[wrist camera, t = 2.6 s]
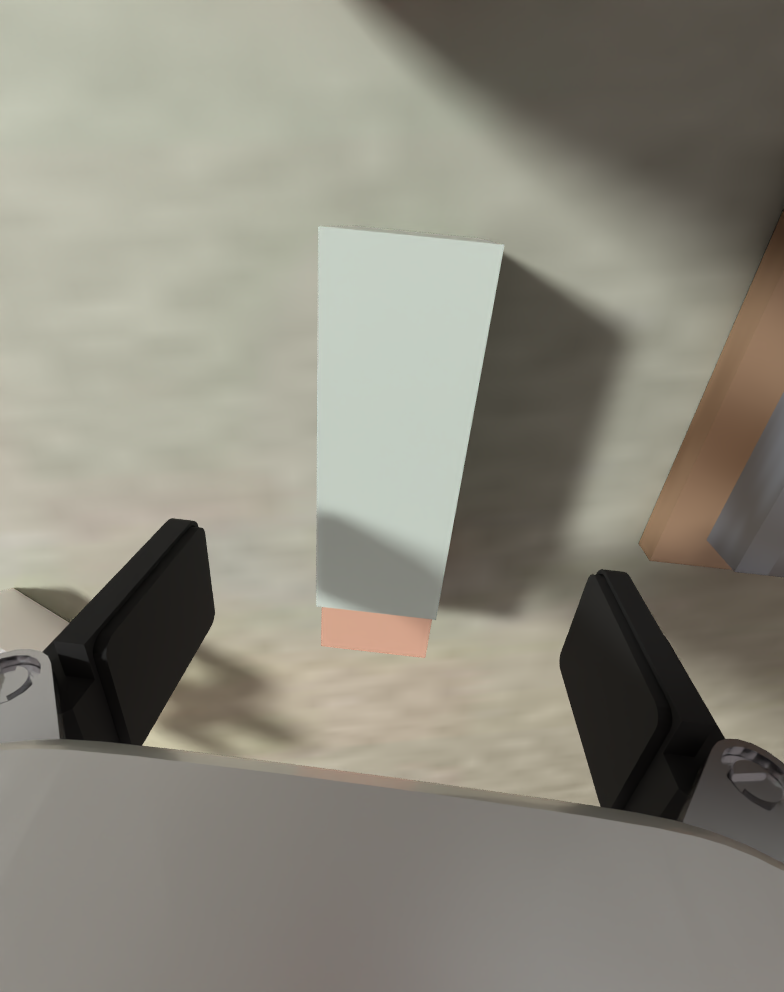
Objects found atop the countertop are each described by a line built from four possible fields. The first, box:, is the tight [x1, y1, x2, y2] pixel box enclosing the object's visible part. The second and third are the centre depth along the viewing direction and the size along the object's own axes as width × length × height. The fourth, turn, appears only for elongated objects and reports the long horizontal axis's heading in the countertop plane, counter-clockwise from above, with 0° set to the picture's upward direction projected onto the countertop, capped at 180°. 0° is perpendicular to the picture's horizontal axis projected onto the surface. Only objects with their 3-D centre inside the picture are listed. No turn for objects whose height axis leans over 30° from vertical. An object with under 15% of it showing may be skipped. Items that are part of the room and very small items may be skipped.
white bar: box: [316, 226, 504, 658], centre depth 16 cm, size 14×4×6 cm, turn 175°
